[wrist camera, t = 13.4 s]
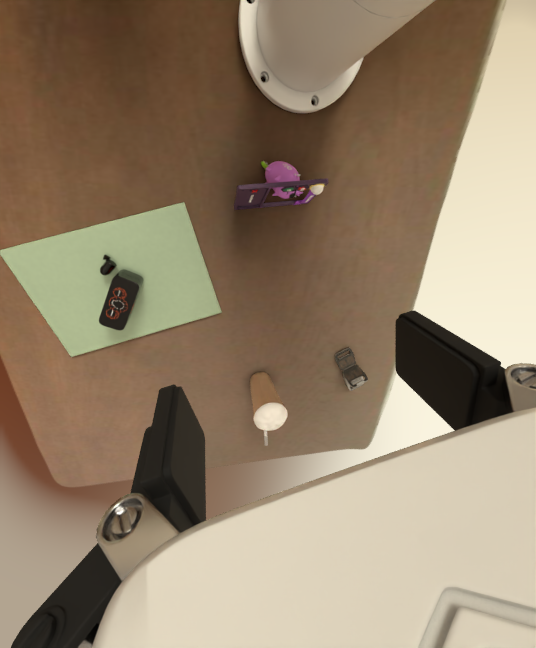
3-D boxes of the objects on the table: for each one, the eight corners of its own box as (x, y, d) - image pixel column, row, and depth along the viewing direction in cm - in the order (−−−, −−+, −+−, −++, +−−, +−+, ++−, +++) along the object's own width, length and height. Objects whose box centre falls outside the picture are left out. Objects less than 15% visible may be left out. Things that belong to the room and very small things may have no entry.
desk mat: (0, 250, 30) (-3, 250, 29) (184, 202, 31) (183, 202, 31) (72, 355, 36) (71, 357, 36) (221, 311, 38) (221, 312, 38)
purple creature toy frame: (239, 197, 26) (330, 190, 28) (231, 138, 26) (324, 133, 27) (235, 216, 33) (308, 209, 34) (228, 169, 32) (303, 164, 33)
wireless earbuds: (148, 269, 33) (143, 277, 31) (129, 320, 36) (123, 332, 33) (106, 252, 32) (96, 259, 29) (89, 306, 34) (78, 318, 31)
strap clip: (362, 381, 49) (376, 397, 46) (347, 389, 49) (359, 405, 46) (349, 345, 45) (362, 360, 41) (332, 354, 45) (344, 369, 42)
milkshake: (240, 393, 45) (249, 444, 36) (250, 365, 43) (263, 412, 34) (266, 397, 46) (281, 446, 38) (277, 370, 44) (296, 416, 36)
